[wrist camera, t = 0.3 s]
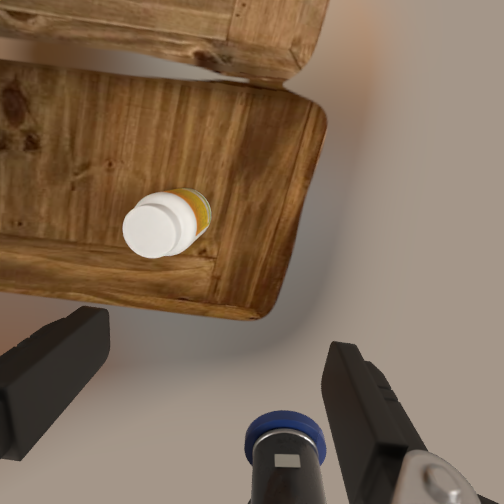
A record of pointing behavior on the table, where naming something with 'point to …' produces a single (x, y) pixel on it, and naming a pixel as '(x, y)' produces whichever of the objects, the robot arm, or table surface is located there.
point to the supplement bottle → (166, 222)
